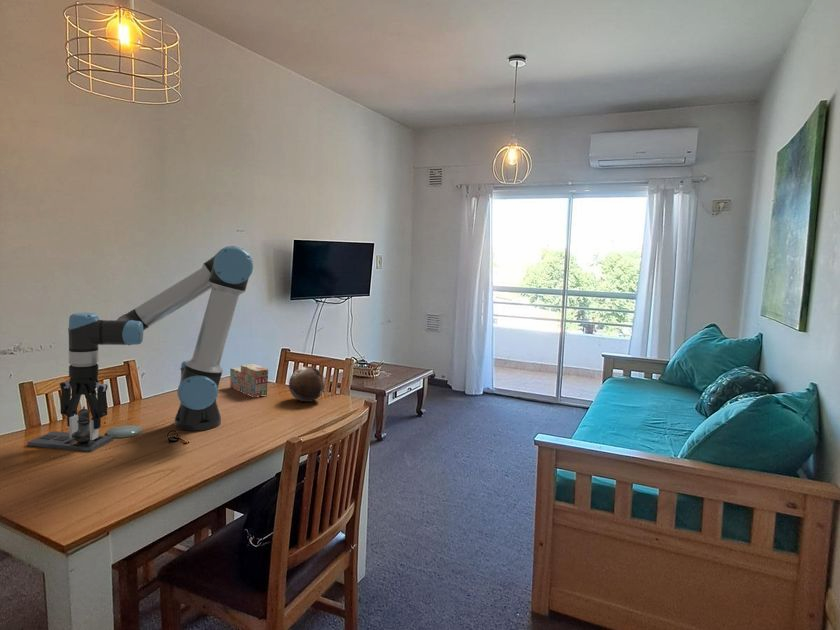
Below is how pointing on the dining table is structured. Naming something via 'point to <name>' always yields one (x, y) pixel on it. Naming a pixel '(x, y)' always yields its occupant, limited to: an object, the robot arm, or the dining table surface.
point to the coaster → (124, 431)
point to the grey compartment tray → (67, 442)
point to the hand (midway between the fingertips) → (84, 437)
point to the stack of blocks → (249, 379)
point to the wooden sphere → (307, 383)
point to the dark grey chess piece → (83, 428)
